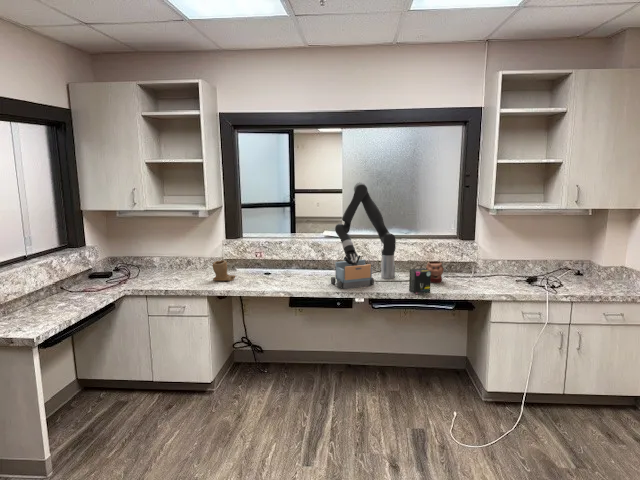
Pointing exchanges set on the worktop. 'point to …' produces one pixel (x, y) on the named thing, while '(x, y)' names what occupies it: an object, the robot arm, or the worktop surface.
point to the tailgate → (357, 272)
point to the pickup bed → (354, 282)
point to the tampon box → (420, 281)
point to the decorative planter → (435, 271)
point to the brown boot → (222, 271)
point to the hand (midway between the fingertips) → (355, 268)
